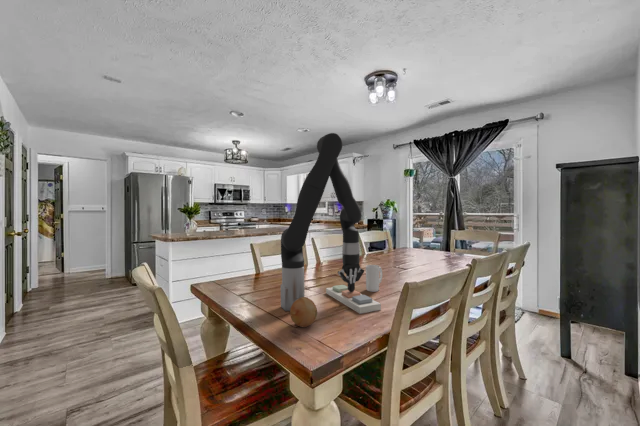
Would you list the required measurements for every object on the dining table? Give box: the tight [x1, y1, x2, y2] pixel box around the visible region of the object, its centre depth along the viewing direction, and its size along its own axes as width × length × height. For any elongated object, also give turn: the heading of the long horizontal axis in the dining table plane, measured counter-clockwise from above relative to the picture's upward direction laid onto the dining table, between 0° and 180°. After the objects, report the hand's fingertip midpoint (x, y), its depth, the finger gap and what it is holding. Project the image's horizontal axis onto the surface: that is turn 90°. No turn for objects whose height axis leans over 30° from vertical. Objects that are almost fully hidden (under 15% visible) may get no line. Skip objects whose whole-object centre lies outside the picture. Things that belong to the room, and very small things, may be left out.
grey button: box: [352, 294, 373, 305], centre depth 123 cm, size 6×6×2 cm
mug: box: [365, 264, 383, 293], centre depth 148 cm, size 10×7×12 cm, turn 122°
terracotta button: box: [342, 289, 361, 298], centre depth 131 cm, size 6×6×2 cm
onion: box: [289, 296, 318, 328], centre depth 104 cm, size 10×10×10 cm
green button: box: [332, 284, 348, 293], centre depth 139 cm, size 6×6×2 cm
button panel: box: [325, 286, 382, 315], centre depth 131 cm, size 10×30×2 cm, turn 25°
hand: (351, 291), depth 131 cm, fingers closed
